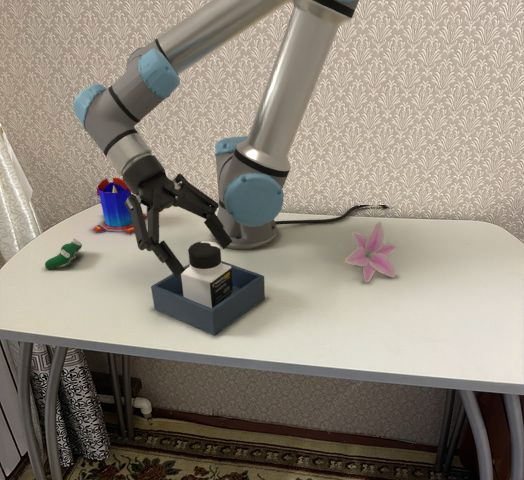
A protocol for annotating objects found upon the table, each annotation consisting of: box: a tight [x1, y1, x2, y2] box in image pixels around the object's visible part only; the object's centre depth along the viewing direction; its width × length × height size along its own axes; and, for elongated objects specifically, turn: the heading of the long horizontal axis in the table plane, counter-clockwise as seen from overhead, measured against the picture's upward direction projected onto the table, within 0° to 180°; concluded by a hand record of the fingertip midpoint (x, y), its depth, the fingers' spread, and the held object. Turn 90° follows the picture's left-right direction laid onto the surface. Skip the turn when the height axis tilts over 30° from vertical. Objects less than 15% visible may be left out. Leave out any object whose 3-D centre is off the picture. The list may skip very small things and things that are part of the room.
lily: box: [344, 220, 398, 284], centre depth 119 cm, size 12×12×10 cm
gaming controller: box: [44, 238, 83, 270], centre depth 127 cm, size 9×4×6 cm
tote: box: [150, 260, 266, 336], centre depth 110 cm, size 16×16×5 cm
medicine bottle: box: [181, 240, 233, 308], centre depth 108 cm, size 7×7×12 cm
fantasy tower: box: [92, 177, 148, 235], centre depth 140 cm, size 12×12×12 cm
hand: (205, 259), depth 106 cm, fingers open, 13 cm apart
